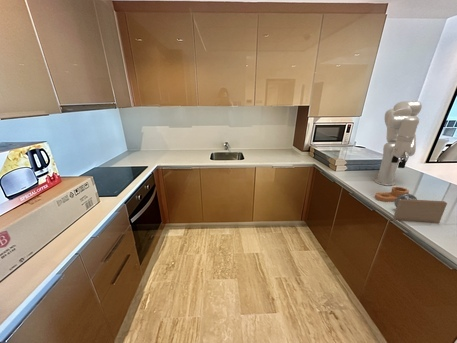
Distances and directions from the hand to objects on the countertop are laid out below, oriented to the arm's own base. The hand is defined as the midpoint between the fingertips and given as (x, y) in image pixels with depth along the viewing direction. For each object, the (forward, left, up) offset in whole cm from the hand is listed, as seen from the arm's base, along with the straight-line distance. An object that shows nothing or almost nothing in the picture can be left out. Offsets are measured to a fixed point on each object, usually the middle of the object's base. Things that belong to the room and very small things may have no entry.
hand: (397, 165), depth 123 cm
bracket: (+5, -2, -22) cm, 23 cm away
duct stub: (+23, -2, -22) cm, 32 cm away
